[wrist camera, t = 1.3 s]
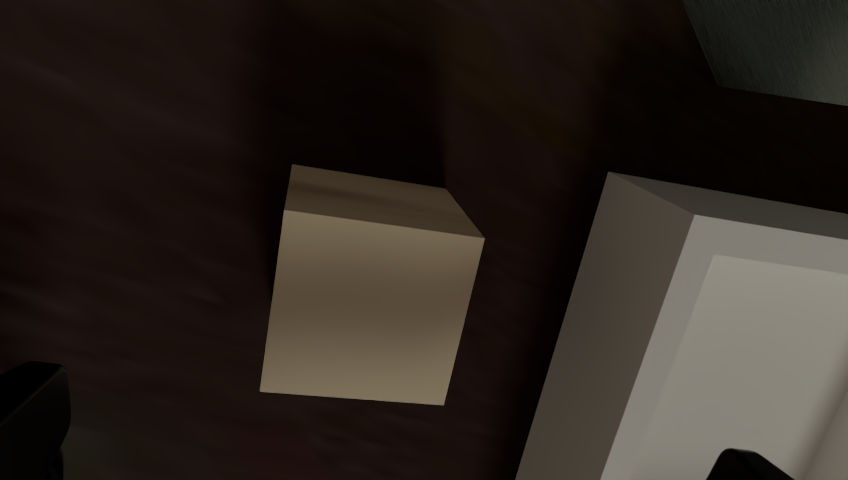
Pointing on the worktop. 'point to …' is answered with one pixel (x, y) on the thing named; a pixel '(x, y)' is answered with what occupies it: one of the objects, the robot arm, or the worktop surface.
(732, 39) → the sage tin
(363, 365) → the oak block
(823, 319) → the white tote
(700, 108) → the worktop surface
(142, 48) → the worktop surface
